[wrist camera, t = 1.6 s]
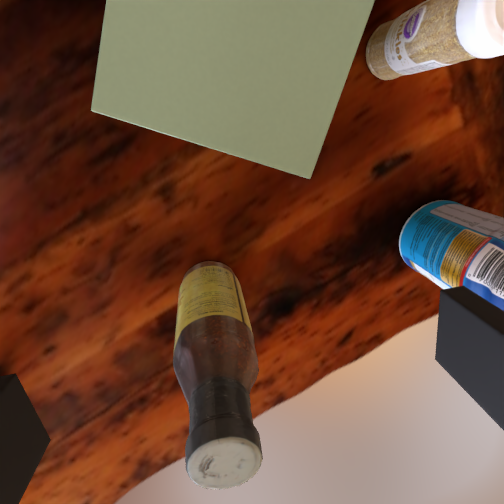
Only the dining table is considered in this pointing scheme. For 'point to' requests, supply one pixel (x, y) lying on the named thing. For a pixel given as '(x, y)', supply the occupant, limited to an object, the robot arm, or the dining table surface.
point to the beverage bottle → (456, 248)
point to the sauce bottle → (216, 377)
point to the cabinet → (231, 72)
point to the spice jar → (436, 37)
